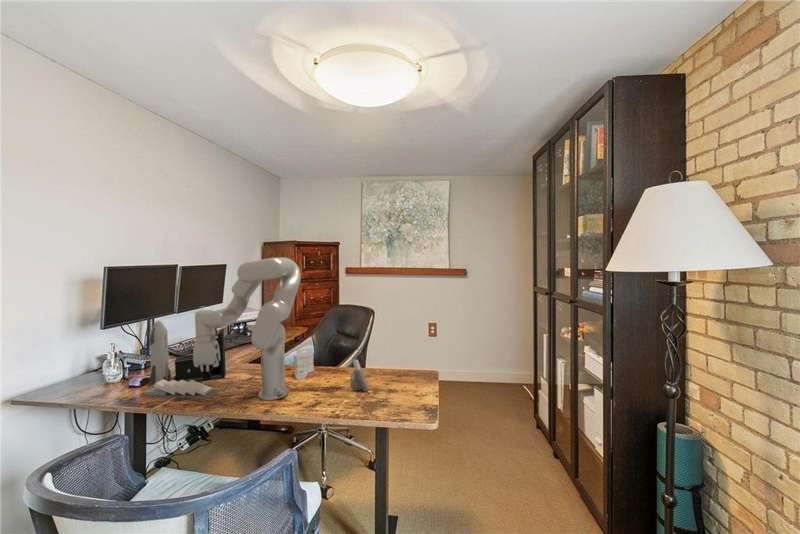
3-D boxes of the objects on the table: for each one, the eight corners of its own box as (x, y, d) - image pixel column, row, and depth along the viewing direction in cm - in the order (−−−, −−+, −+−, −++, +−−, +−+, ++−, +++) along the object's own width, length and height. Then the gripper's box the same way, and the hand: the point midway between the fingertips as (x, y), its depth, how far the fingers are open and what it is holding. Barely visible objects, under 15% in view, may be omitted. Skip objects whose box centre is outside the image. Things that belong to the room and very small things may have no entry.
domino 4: (202, 387, 159) (182, 379, 159) (195, 392, 154) (174, 383, 154) (201, 391, 159) (181, 382, 159) (193, 395, 154) (173, 387, 154)
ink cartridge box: (311, 374, 181) (310, 345, 181) (314, 376, 177) (313, 347, 176) (294, 377, 177) (293, 347, 176) (296, 380, 172) (296, 350, 172)
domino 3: (192, 387, 159) (172, 379, 160) (185, 392, 154) (164, 383, 155) (191, 391, 159) (171, 382, 160) (184, 395, 154) (163, 386, 155)
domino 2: (183, 387, 159) (163, 379, 160) (175, 391, 154) (154, 383, 155) (182, 390, 159) (162, 382, 160) (174, 395, 154) (153, 386, 155)
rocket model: (156, 387, 166) (154, 323, 165) (141, 387, 166) (139, 323, 166) (176, 377, 180) (174, 318, 179) (163, 377, 180) (161, 318, 180)
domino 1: (173, 387, 160) (152, 388, 160) (165, 391, 155) (143, 392, 155) (173, 390, 160) (152, 391, 160) (165, 395, 155) (143, 395, 156)
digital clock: (368, 392, 155) (367, 368, 155) (347, 393, 155) (346, 368, 155) (370, 379, 171) (370, 358, 171) (352, 380, 171) (351, 358, 171)
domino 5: (212, 387, 158) (191, 379, 159) (205, 392, 153) (184, 383, 154) (210, 391, 159) (190, 383, 159) (204, 395, 154) (183, 387, 154)
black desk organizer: (169, 386, 166) (167, 337, 166) (174, 379, 176) (172, 332, 176) (224, 379, 176) (223, 332, 175) (226, 372, 186) (224, 328, 185)
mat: (222, 390, 161) (222, 389, 161) (209, 398, 151) (209, 397, 151) (174, 389, 162) (174, 388, 162) (158, 398, 152) (158, 397, 152)
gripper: (226, 336, 159) (228, 377, 159) (194, 336, 160) (196, 376, 160) (217, 340, 151) (218, 382, 152) (183, 340, 152) (185, 382, 153)
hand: (206, 379), depth 156 cm, fingers closed
